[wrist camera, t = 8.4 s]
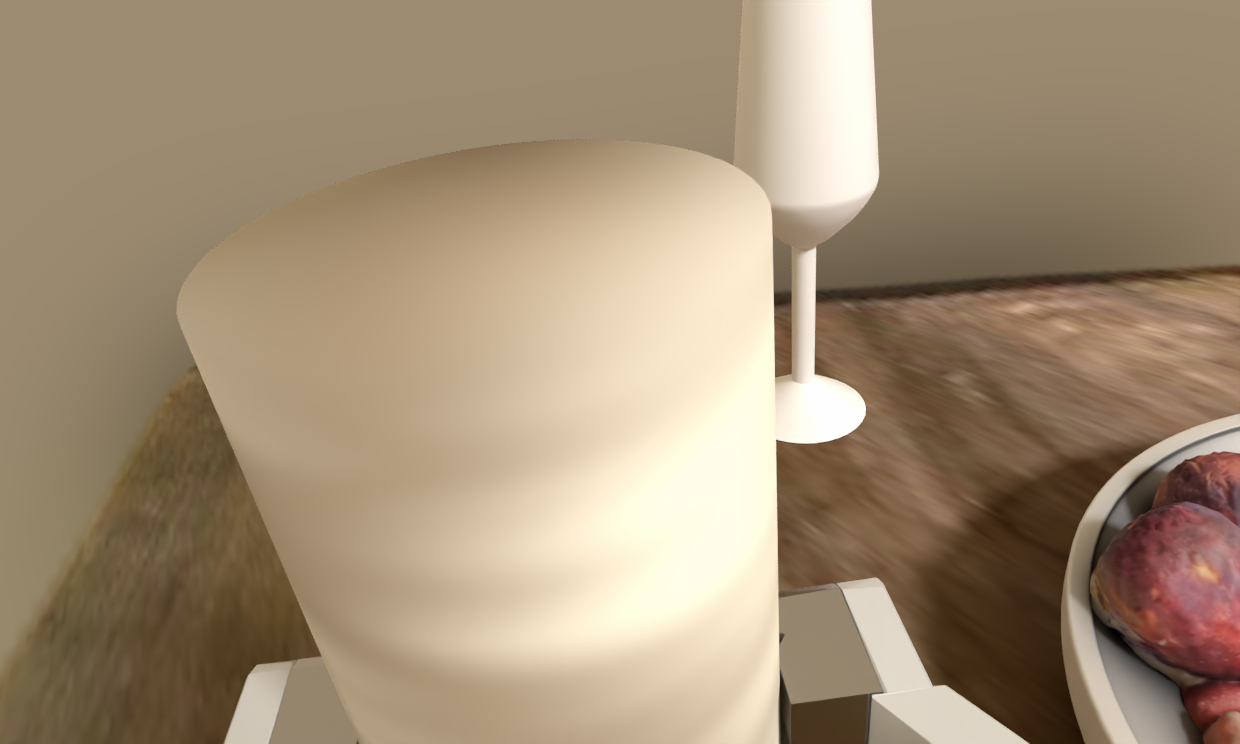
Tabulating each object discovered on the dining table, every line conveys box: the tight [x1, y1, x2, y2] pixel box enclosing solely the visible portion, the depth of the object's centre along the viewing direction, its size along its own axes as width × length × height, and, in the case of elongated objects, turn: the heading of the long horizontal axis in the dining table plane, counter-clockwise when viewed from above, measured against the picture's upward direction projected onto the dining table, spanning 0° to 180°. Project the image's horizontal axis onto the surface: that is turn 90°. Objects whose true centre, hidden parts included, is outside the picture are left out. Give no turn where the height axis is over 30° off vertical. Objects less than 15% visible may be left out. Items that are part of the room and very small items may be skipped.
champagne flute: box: [733, 0, 879, 443], centre depth 41 cm, size 7×7×24 cm
